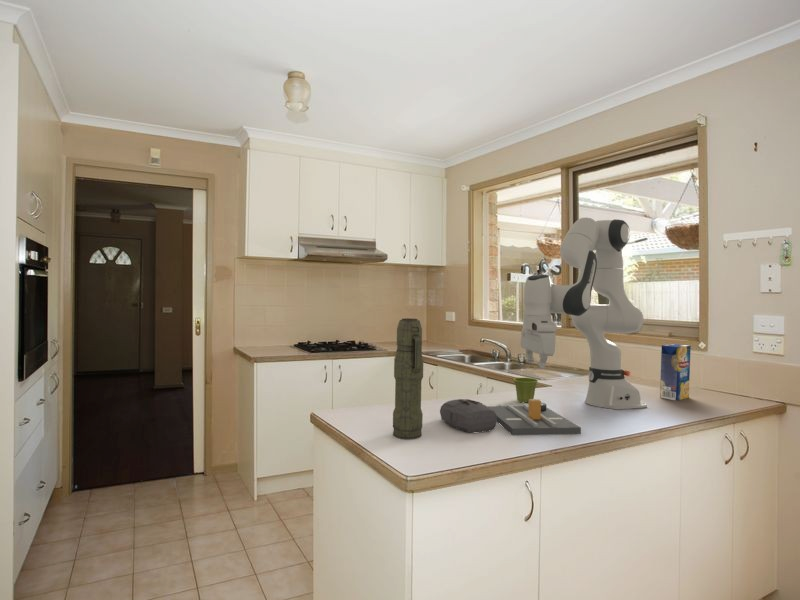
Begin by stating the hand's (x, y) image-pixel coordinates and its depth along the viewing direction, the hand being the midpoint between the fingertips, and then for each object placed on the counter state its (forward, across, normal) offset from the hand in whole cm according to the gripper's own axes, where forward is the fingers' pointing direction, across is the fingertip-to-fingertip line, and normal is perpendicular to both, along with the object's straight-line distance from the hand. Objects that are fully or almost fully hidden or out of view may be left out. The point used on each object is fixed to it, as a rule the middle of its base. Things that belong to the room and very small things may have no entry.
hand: (535, 365), depth 166 cm
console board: (+19, -2, -1) cm, 19 cm away
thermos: (+19, +10, -44) cm, 49 cm away
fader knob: (+17, +2, -1) cm, 17 cm away
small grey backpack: (+20, 0, -23) cm, 31 cm away
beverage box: (+21, -35, +76) cm, 86 cm away
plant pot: (+20, -32, +9) cm, 39 cm away
